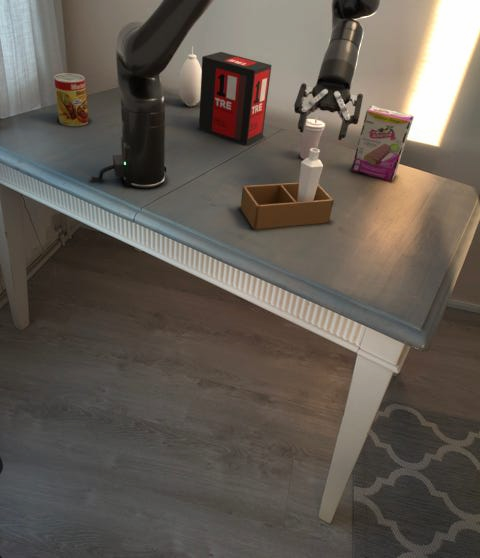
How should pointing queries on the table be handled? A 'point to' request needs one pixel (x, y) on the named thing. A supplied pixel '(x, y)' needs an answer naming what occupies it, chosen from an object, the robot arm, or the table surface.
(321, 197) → the divided tray
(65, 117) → the canned food
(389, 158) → the candy bar box
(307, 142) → the smoothie
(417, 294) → the table surface
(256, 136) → the cleaning product box
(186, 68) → the sauce bottle
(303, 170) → the perfume bottle
